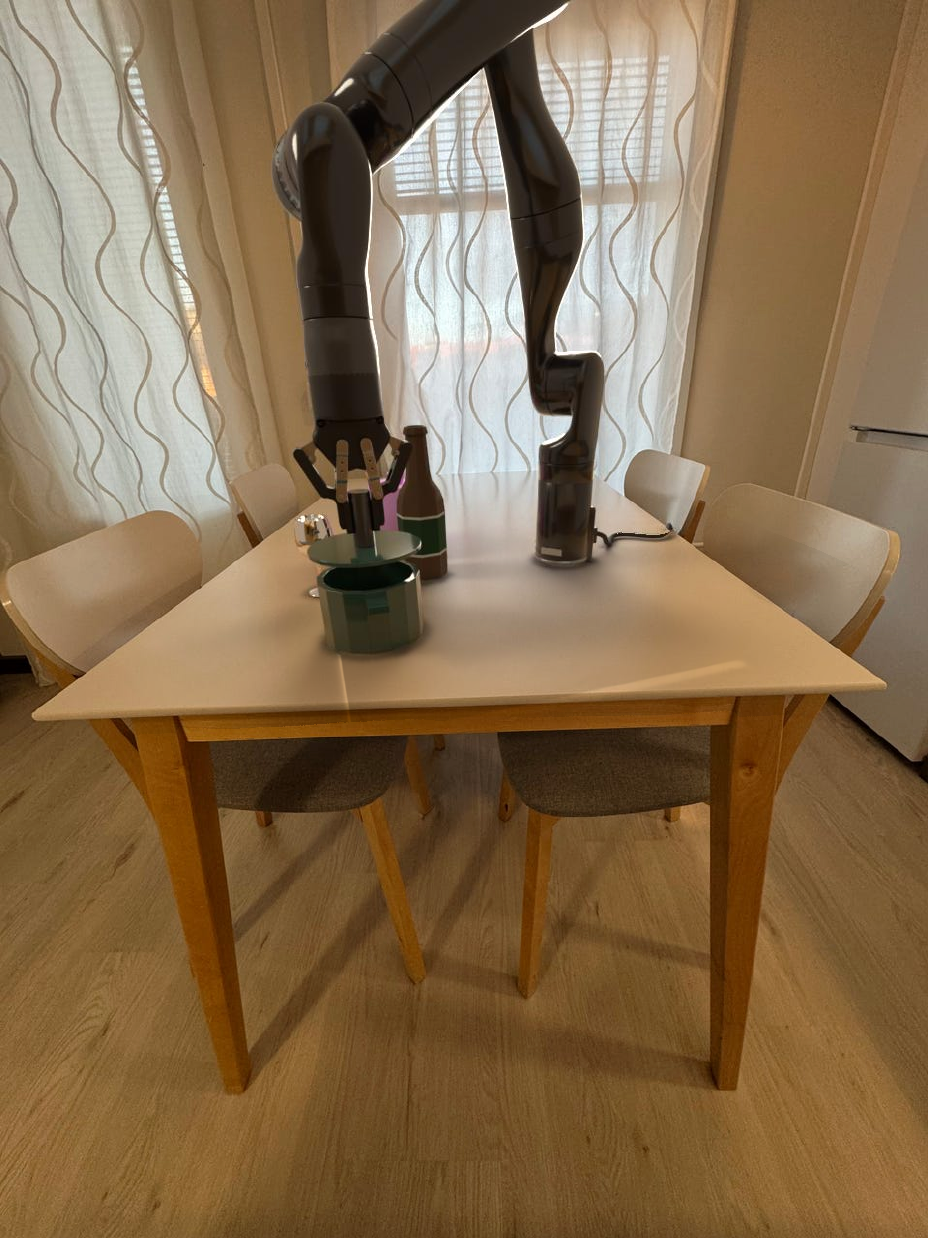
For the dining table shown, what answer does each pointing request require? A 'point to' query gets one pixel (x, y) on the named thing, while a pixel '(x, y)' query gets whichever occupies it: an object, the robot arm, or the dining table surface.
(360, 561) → the lid
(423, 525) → the beer bottle
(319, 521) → the wineglass
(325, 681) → the dining table surface
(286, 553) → the dining table surface
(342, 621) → the pot
